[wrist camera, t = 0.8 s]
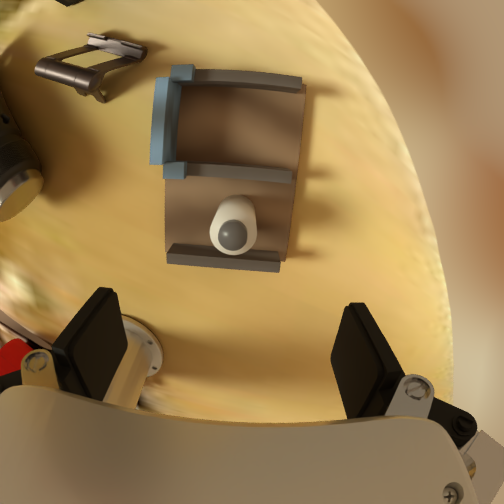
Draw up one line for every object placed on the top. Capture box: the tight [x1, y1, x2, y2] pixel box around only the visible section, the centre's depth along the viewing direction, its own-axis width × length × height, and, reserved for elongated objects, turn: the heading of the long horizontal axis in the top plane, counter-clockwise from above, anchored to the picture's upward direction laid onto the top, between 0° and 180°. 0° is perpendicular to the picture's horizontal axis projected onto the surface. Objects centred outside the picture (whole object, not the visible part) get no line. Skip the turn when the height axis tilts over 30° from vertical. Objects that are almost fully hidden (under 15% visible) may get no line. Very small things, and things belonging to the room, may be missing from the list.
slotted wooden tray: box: [150, 64, 306, 273], centre depth 27 cm, size 20×14×6 cm
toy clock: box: [0, 338, 34, 376], centre depth 33 cm, size 20×6×20 cm, turn 146°
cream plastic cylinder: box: [210, 194, 257, 255], centre depth 27 cm, size 4×4×8 cm
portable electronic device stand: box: [35, 33, 148, 103], centre depth 20 cm, size 9×8×8 cm
